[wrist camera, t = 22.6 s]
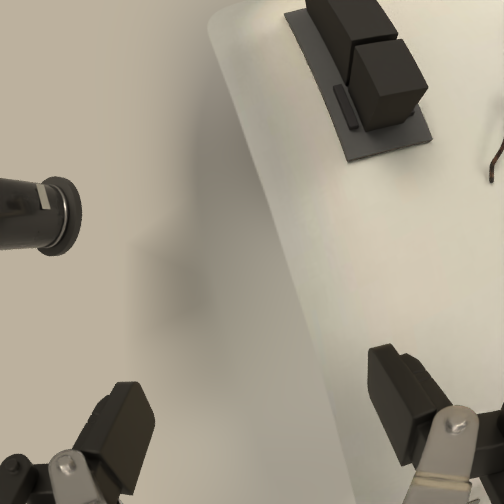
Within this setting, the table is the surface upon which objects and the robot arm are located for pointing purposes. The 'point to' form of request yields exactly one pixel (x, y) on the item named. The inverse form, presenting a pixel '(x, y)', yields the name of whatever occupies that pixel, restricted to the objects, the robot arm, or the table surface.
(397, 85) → the black rectangular box
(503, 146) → the eyeglasses
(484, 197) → the table surface
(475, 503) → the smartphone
